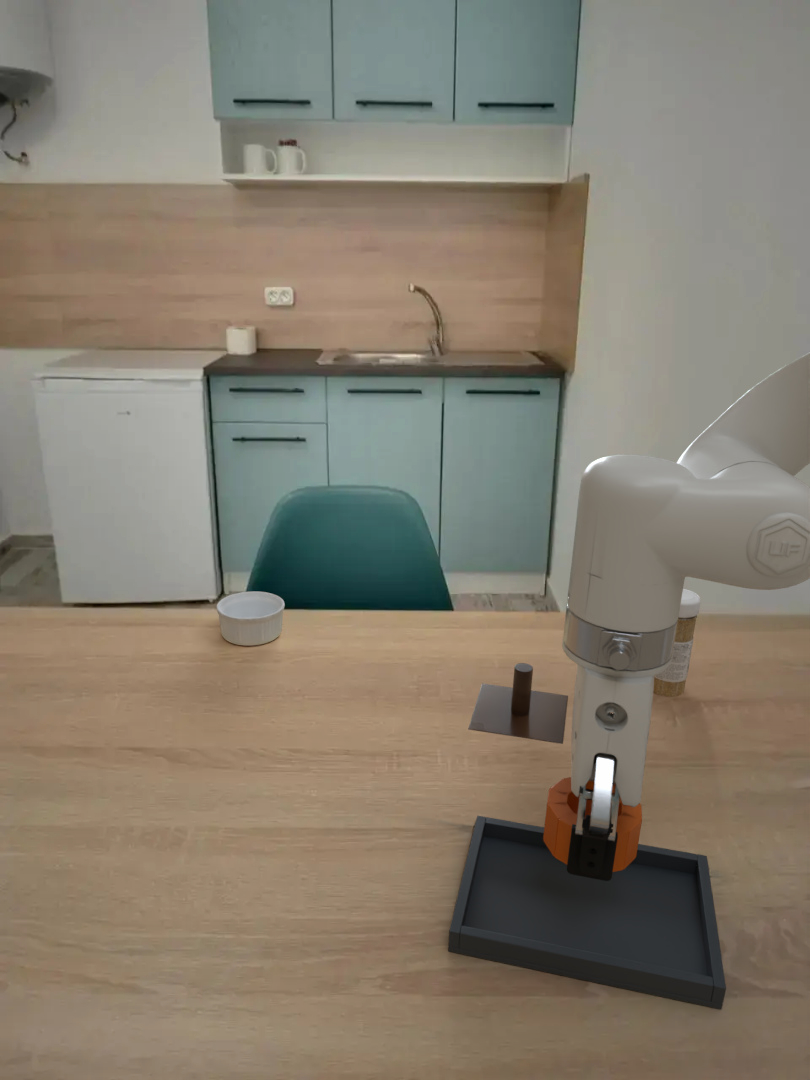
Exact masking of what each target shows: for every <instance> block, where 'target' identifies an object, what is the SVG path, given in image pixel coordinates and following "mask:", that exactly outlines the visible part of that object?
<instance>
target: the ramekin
mask: <svg viewBox="0 0 810 1080" xmlns="http://www.w3.org/2000/svg"><path fill="white" fill-rule="evenodd" d="M285 606H286V604H285V601H284V599H283V598H282V597H281V596H279V595H277V594H274V593H270V592H266V591H253V590H252V591H242V592H237V593H232V594H230V595H227V596H225V597H223V598H222V599H220V600H219V601H218V602H217V604H216V612H217V614H218V621H219V627H220V634H221V636H222V637H223V639H224V640H225V641H227V642H229V643H230V644H233V645H238V646H245V647H246V646H247V647H248V646H261V645H264V644H268V643H270V642H272V641H274V640H277V638H278V637H279V636H280V635H281V634H282V631H283V617H284V611H285Z"/></svg>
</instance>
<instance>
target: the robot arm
mask: <svg viewBox="0 0 810 1080" xmlns="http://www.w3.org/2000/svg"><path fill="white" fill-rule="evenodd" d="M809 465H810V351H809V352H807V353H805V354H803V355H801V356H800V357H798V358H796V359H794V360H793V361H791V362H789V363H787V364H785V365H783V366H782V367H781V368H779V369H777V370H776V371H774V372H773V373H771V374H769V375H768V376H766V377H765V378H763V379H762V380H761V381H759V382H758V383H756V384H755V385H754V386H753V387H751V388H750V389H749V390H747V391H746V392H744V394H743V395H741V397H739V398H738V399H736V400H735V402H733V404H731V405H730V406H729V407H727V409H726V410H725V411H724V412H722V414H720V415H719V416H718V417H717V418H716V419H715V420H714V421H713V422H712V423H711V424H710V425H708V426H707V427H706V428H705V429H704V430H703V431H702V432H701V433H700V434H699V435H698V436H696V438H695V439H694V440H693V441H692V442H691V443H690V444H689V445H688V446H687V448H686V449H685V450H684V451H683V452H682V453H681V455H680V456H679V458H678V460H677V461H676V462H675V461H673V460H670V459H667V458H661V457H659V456H658V457H657V456H652V455H651V456H650V455H643V454H613V455H607V456H602V457H599V458H597V459H595V460H594V461H591V462H590V463H589V464H588V466H586V468H585V469H584V471H583V473H582V476H581V479H580V486H579V492H578V500H577V509H576V518H575V528H574V536H573V545H572V546H573V547H572V556H571V565H570V573H569V581H568V589H567V600H566V601H567V602H566V608H565V617H564V626H563V633H562V635H563V636H562V642H561V643H562V644H561V646H562V650H563V652H564V653H565V655H566V656H567V658H568V659H569V660H571V661H572V662H574V663H575V664H576V673H575V681H574V690H573V691H574V692H573V703H572V716H571V717H572V718H571V740H570V777H571V791H572V792H573V793H574V795H575V796H577V797H579V802H578V811H577V820H576V825H574V824H572V830H571V838H570V846H569V854H568V862H567V872H568V873H570V874H573V875H578V876H583V877H588V878H593V879H598V880H604V881H609V880H611V878H612V872H613V865H614V859H615V852H616V845H617V839H618V832H616V827H617V817H618V808H619V802H620V798H621V801H622V803H623V805H628V806H631V807H636V806H637V805H638V804H639V803H640V804H641V801H642V792H643V791H642V790H643V783H644V775H645V774H644V773H645V766H646V765H645V764H646V760H647V759H646V758H647V751H648V744H649V737H650V736H649V735H650V728H651V720H652V713H653V700H654V692H653V691H654V675H657V674H659V673H662V672H664V671H665V670H666V669H667V668H668V667H669V666H670V664H671V660H672V653H673V647H674V640H675V634H676V628H677V622H678V616H679V610H680V604H681V598H682V592H683V589H684V586H685V581H686V580H685V579H686V578H693V579H697V580H703V581H709V582H713V583H718V584H721V585H727V586H732V587H736V588H737V587H738V588H743V589H749V590H756V591H757V590H761V591H772V590H773V591H774V590H782V589H788V588H790V587H794V586H798V585H801V583H804V582H806V581H808V580H809V579H810V486H809V485H808V484H806V483H805V482H803V481H802V480H800V479H799V478H797V477H796V475H797V474H798V473H799V472H801V471H802V470H803V469H805V468H806V467H807V466H809ZM588 781H593V782H594V783H593V790H592V789H586V784H587V782H588ZM614 784H615V785H614ZM612 785H614V793H612ZM587 800H592V805H591V812H590V815H586V817H585V810H586V801H587Z"/></svg>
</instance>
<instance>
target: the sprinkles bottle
mask: <svg viewBox="0 0 810 1080" xmlns="http://www.w3.org/2000/svg"><path fill="white" fill-rule="evenodd" d="M700 607H701V597H700V595H698V593H696V592H695V591H693V590H690V589H686V588H683V592H682V598H681V604H680V610H679V616H678V622H677V628H676V634H675V640H674V647H673V653H672V660H671V664H670V666H669V667H668V668H667V669H666V670H665V671H664V672H662V673H659V674H657V675H654V691H653V694H656V695H657V696H658V695H659V696H661V697H668V698H675V697H679V696H681V695H683V694H684V692H685V688H686V682H687V678H688V674H689V668H690V661H691V656H692V650H693V646H694V645H693V644H694V638H695V637H694V635H695V628H696V621H697V618H698V615H699V614H700V609H701V608H700Z"/></svg>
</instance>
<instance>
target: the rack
mask: <svg viewBox="0 0 810 1080" xmlns="http://www.w3.org/2000/svg"><path fill="white" fill-rule="evenodd" d="M533 673H534V666H532V665H531V664H529V663H525V662H520V663H516V664H514V668H513V679H512V680H513V681H512V687H511V686H504V685H496V684H489V683H483V682H482V683H481V686H480V688H479V693H478V695H477V698H476V701H475V706H474V708H473V711H472V714H471V717H470V722H469V725H468V730H469V731H470V730H471V731H476V732H482V733H488V734H496V735H502V736H508V737H516V738H521V739H528V740H529V739H530V740H535V741H541V742H548V743H554V744H561V745H563V744H564V739H565V738H564V737H565V731H566V730H565V729H566V721H567V720H566V718H567V711H568V701H569V695H567V694H560V693H552V692H546V691H540V690H539V691H538V690H532V687H533V686H532V685H533V676H534V675H533Z"/></svg>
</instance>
